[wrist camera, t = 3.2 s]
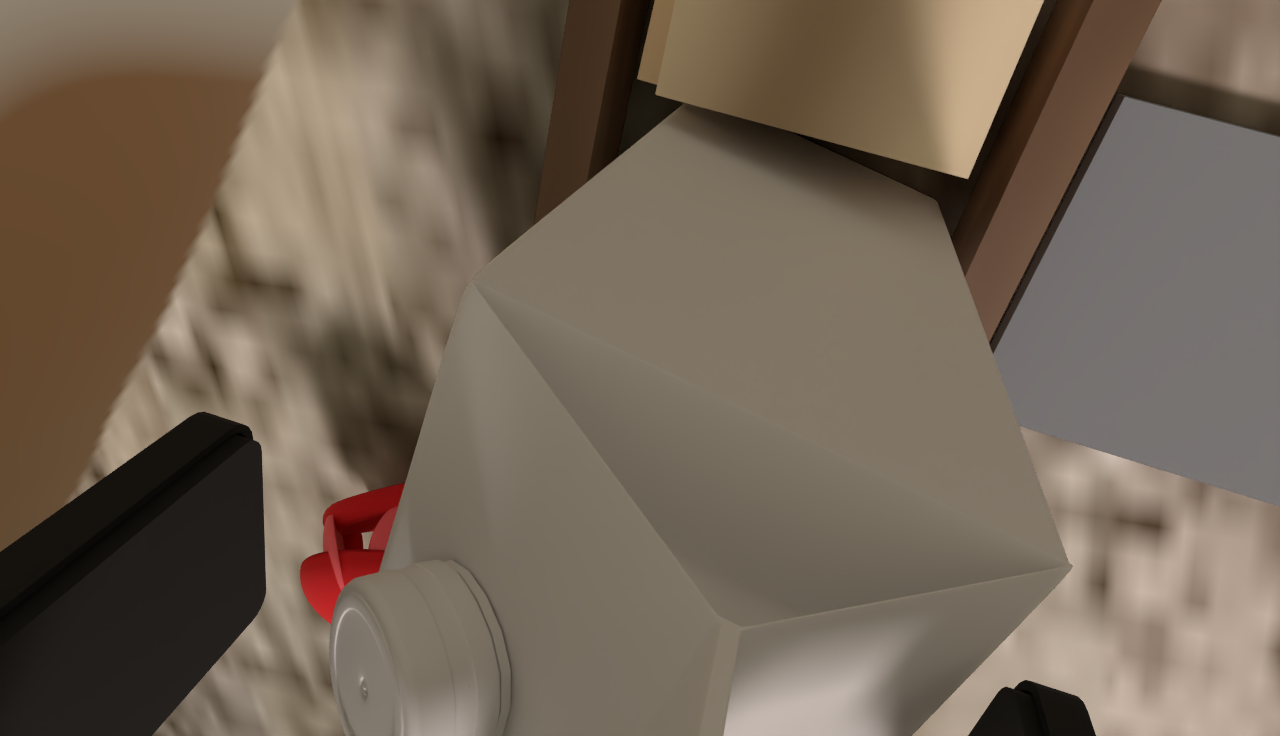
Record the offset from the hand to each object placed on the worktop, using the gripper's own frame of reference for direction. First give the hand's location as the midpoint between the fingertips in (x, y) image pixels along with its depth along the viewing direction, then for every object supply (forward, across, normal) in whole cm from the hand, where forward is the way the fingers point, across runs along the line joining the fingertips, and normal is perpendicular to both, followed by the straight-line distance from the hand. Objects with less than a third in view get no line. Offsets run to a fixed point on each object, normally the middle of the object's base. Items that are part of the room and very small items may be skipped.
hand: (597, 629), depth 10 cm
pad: (+15, -12, -2) cm, 20 cm away
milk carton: (+16, -1, 0) cm, 16 cm away
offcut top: (+12, -1, -6) cm, 13 cm away
